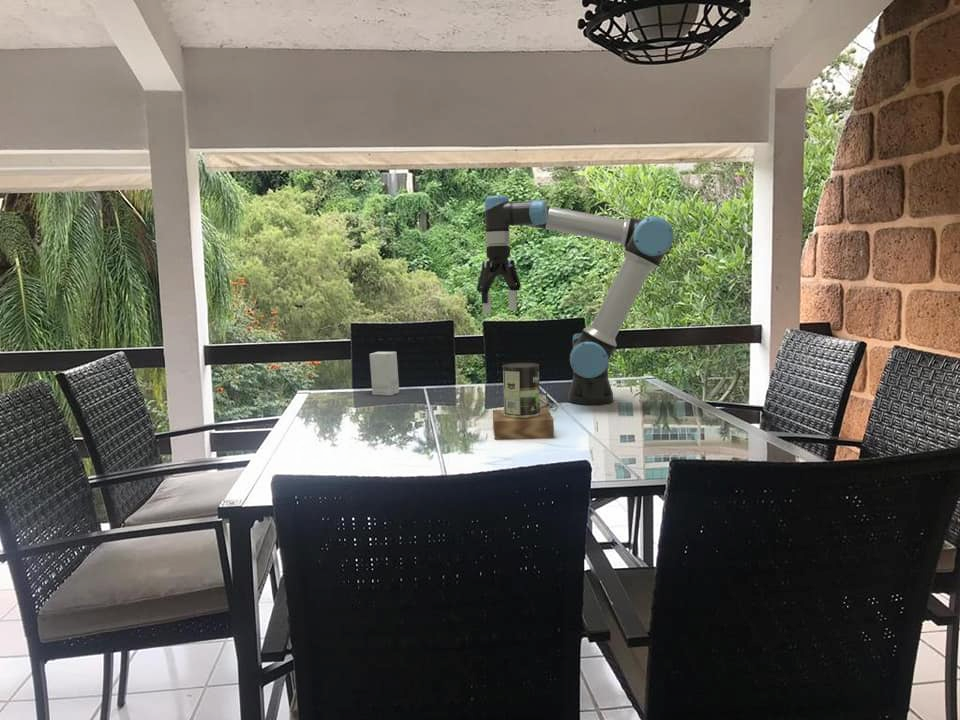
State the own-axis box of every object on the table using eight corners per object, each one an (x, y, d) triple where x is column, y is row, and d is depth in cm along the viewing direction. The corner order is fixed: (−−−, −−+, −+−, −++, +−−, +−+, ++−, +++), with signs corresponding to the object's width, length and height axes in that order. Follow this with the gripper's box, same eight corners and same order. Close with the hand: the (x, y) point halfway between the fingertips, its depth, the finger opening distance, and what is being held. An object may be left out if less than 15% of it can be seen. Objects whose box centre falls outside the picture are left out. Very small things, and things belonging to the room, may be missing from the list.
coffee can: (542, 411, 223) (541, 362, 221) (537, 418, 213) (536, 367, 211) (506, 410, 225) (505, 362, 223) (500, 418, 215) (499, 367, 213)
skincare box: (399, 393, 289) (398, 351, 287) (390, 396, 283) (388, 353, 281) (380, 392, 293) (378, 350, 291) (370, 395, 287) (368, 353, 285)
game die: (543, 429, 239) (562, 402, 239) (536, 425, 231) (556, 397, 232) (520, 413, 243) (539, 387, 243) (513, 408, 235) (532, 381, 235)
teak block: (547, 425, 228) (547, 408, 227) (553, 437, 212) (553, 419, 211) (493, 426, 228) (492, 409, 227) (494, 439, 212) (494, 421, 211)
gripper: (511, 245, 261) (513, 309, 263) (463, 246, 241) (466, 314, 244) (530, 244, 256) (532, 309, 258) (482, 245, 237) (485, 315, 239)
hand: (500, 312), depth 251 cm, fingers open, 13 cm apart
